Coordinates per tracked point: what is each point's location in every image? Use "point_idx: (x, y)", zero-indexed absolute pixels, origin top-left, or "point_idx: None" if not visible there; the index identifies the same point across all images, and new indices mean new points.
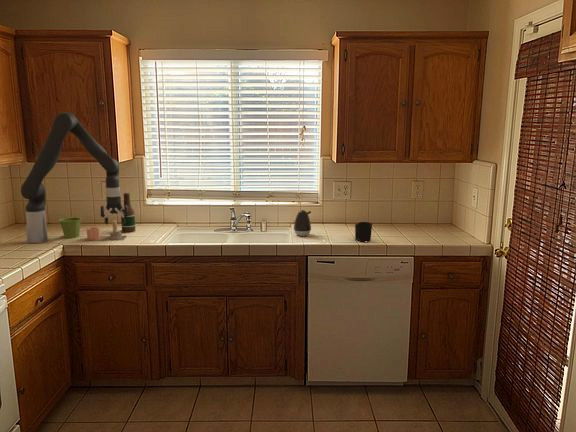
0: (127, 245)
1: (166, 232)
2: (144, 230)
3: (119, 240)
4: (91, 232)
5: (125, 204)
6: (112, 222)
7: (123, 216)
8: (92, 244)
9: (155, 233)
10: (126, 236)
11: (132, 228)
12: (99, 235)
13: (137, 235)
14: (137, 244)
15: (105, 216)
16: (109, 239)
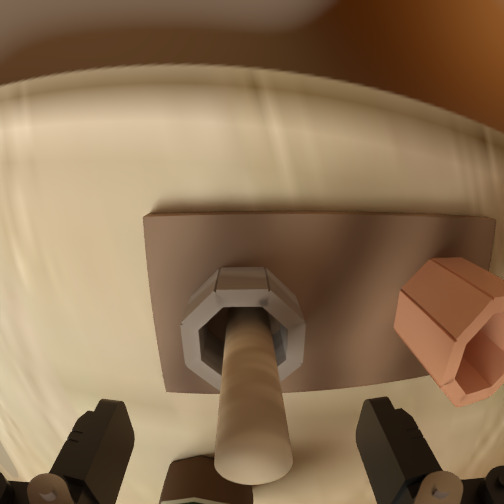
0: (87, 84)
1: (6, 432)
2: (136, 499)
3: (182, 214)
4: (491, 282)
5: None
6: (286, 432)
7: (35, 486)
8: (423, 153)
9: (41, 433)
10: (163, 367)
11: (165, 489)
12: (408, 325)
13: None
14: (22, 125)
15: (443, 495)
16: (300, 265)
